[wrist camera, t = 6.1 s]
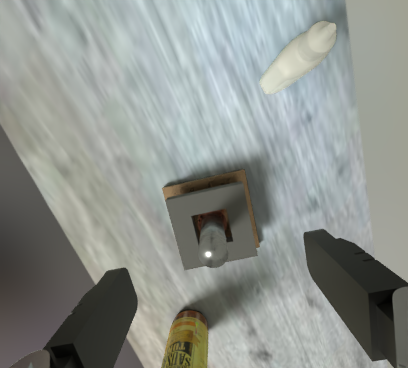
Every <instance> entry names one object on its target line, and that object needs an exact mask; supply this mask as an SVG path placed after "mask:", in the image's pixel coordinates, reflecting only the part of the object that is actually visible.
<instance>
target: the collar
mask: <svg viewBox="0 0 408 368" xmlns="http://www.w3.org/2000/svg"><path fill="white" fill-rule="evenodd" d="M165 202H166V205H167V209H168V212H169V216H170V219H171V223H172V227H173V230H174V234H175V237H176V241H177V245H178V248H179V252H180V255H181V259H182V263H183V266H184V270H188V269H193V268H198V267H203V266H205V265H204V264H203V263H202V262H201V261H200V259H199V255H198V253H199V243H200V241H199V237H198V233H197V229H196V225H195V222H194V218H193V215H198V214H203V213H207V212H212V211H217V210H221V209H226V210H227V215H228V219H229V224H230V228H231V233H232V236H230V237H226V242H227V248H228V259H227V261H226V262H228V261H233V260H239V259H244V258H249V257H254V256H258V255H257V250H256V245H255V240H254V235H253V230H252V225H251V220H250V215H249V210H248V205H247V200H246V195H245V190H244V185H243V183H242V181H239V182H235V183H230V184H226V185H221V186H217V187H212V188H208V189H203V190H199V191H194V192H190V193H185V194H181V195H176V196H172V197H168V198H167V199H166V200H165Z"/></svg>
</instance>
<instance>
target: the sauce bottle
mask: <svg viewBox="0 0 408 368" xmlns="http://www.w3.org/2000/svg"><path fill="white" fill-rule="evenodd" d="M207 357H208V324H207V321H206V319H205V317H204V316H203V315H202V314H201V313H199V312H196V311H192V310H188V311H182V312H181V313H179V314H178V315H177V316H176V318H175V319H174V321H173V323H172V326H171V328H170V333H169V337H168V341H167V345H166V350H165V354H164V358H163V363H162V367H161V368H207Z"/></svg>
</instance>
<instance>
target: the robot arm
mask: <svg viewBox="0 0 408 368" xmlns="http://www.w3.org/2000/svg"><path fill="white" fill-rule="evenodd" d="M304 245H305V252H306V260H307V266H308V270H309V272H310V275H311V277H312V279H313V280H314V282H315V283H316V284H317V286H318V287H319V289H320V290H321V291H322V293H323V294H324V295H325V297H326V298H327V300H328V301H329V302H330V304H331V305H332V306H333V308H334V309H335V311H336V312H337V313H338V315H339V316H340V317H341V319H342V320H343V322H344V323H345V324H346V326H347V327H348V328H349V330H350V331H351V333H352V334H353V335H354V337H355V338H356V339H357V341H358V342H359V344H360V345H361V346H362V348H363V349H364V350H365V352H366V353H367V355H368V356H369V357H370V359H371V360H372V361H378V360H385V359H387V360H388V361H389V362H390V364H391V365H392V366H393V367H394V368H408V283H407V282H406V281H405V280H403V279H402V278H400V277H399V276H398V275H396V274H395V273H394V272H392V271H391V270H390V269H388V268H387V267H386V266H384V265H383V264H381V263H380V262H379V261H377V260H375V259H374V258H373V257H372V256H371V255H369V254H368V253H365V251H364V250H363V249H361V248H360V247H359V246H357V245H356V244H355V243H352V242H349V241H347V240H344V239H342V238H338V239H335V238H334V237H333V236H332V235H330V234H329V233H328V232H327V231H326V230H324V229H319V230H314V231H309V232H305V233H304ZM137 305H138V300H137V295H136V292H135V289H134V286H133V284H132V281H131V278H130V275H129V272H128V270H127V269H126V268H119V269H114V270H109V271H107V272H106V273H105V274H104V276H103V277H102V278H101V280H100V281H99V282H98V284H97V285H95V286H94V287H93V288H92V289H91V290H90V291H88V292H87V293H86V294H85V295H84V296H83V298H82V299H81V300H80V302H79V303H78V304H77V306H76V307H75V308H74V310H73V311H72V312H71V315H69V316H68V317H67V319H66V320H65V321H64V322H63V324H62V325H61V326H60V328H59V329H58V330H57V331H56V333H55V334H54V335H53V337H52V338H51V339H50V340H49V342H48V343H47V344H46V346H45V347H44V348H43V349H42V350H38V351H35V352H32V353H30V354H28V355H26V356H24V357H23V358H21V359H20V360H18V361H17V362H15V363H14V364H13V365H12V366H10V367H9V368H113V367H114V365H115V362H116V360H117V357H118V355H119V353H120V350H121V347H122V345H123V343H124V340H125V338H126V335H127V333H128V331H129V328H130V326H131V323H132V321H133V318H134V316H135V313H136V311H137Z"/></svg>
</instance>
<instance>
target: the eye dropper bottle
mask: <svg viewBox="0 0 408 368" xmlns="http://www.w3.org/2000/svg"><path fill="white" fill-rule="evenodd" d="M336 36H337V35H336V24H335V23H330V22H327V21H320V22H317V23H315V24H314V25H313V26H312V27H311V28H310V29H309V30H308V31H306V32H304V33H302V34H300V35H299V36H297V37H296V38H295V39H293V40H292V41H291V42H290V43H289V44H288V45H287V46H286V47H285V48H284V49H283V50H282V52H281V53H280V54H279V55H278V56H277V58H276V59H275V60H274V61H273V63H272V64H271V65H270V66H269V68H268V69H267V70H266V71H265V73H264V74H263V75H262V77H261V79H260V82H259V83H260V85H261V87H262V89H263V90H264V92H265V93H266V94H268V95H269V94H274V93H277V92H280V91H282V90H284V89H285V88H287V87H288V86H290V85H291V84H293V83H294V82H295V81H297V80H298V79H300V78H301V77H303V76H304V75H305V74H307V73H308V72H310V71H311V70H312V69H314V68H315V67H316V66H317V65H318V64H320V63H321V62H322V60H323V59H324V58H325V57H326V56H327V54H328V53H329V51H330V50H331V48H332V47H333V45H334V43H335V41H336Z"/></svg>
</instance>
